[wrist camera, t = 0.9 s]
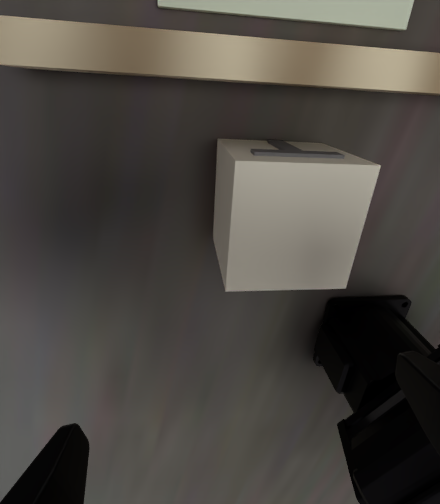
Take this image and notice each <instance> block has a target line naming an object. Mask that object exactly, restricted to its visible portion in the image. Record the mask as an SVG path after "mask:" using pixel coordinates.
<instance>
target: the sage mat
mask: <svg viewBox="0 0 440 504" xmlns="http://www.w3.org/2000/svg"><path fill="white" fill-rule="evenodd" d="M413 2H414V0H158V8H164V9H175V10H185V11H196V12H206V13H217V14H227V15H238V16H249V17H259V18H270V19H280V20H291V21H301V22H312V23H323V24H333V25H344V26H354V27H365V28H375V29H386V30H397V31H403V30H406V28H407V24H408V21H409V17H410V13H411V9H412V6H413Z"/></svg>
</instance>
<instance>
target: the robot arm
mask: <svg viewBox="0 0 440 504" xmlns="http://www.w3.org/2000/svg"><path fill="white" fill-rule="evenodd" d="M335 304H337V305H336V306H334V305H335ZM410 306H411V301H410V300H409V299H408V298H407V297H405V296H393V297H357V298H333V299H331V300H330V301H329V302H328V304H327V307H326V311H325V315H324V319H323V323H322V325H321V326H320V329H319V333H318V337H317V341H316V345H315V349H314V350H315V353H314V357H313V360H314V362H315V364H316V365H317V366H323V368H324V369H325V371H326V373H327V375H328V377H329V379H330V381H331V383H332V385H333V387H334V389H335V390H336V391H337V392H338V393H339V394H344V396H345V398H346V399H347V401H348V403H349V405H350V407H351V409H352V410H353V412H354V413H353V414H352V415H351V416H349V417H348V418H347V419H343V420H342V421H340V422H339V423H338V424H337V426H338V430H339V434H340V438H341V442H342V446H343V450H344V454H345V457H346V461H347V465H348V469H349V473H350V477H351V481H352V484H353V487H354V491H355V495H356V498H357V500H358V502H359V503H360V504H440V344H439V345H438V348H437V349H435V348H434V347H433V346H432V345H431V344H430V343H429V342H428V341H427V340H426V339H425V338H424V337H423V336H422V335H421V334H420V333H419V332H418V331H417V330H416V329H415V328H414V327H413V326H412V325H411V324H410V323H409V322H408V321H407V320H406V319H405V318H406V315H407V313H408V310H409V308H410ZM88 457H89V442H88V439H87V437H86V436H85V434H84V433H83V431H82V429H81V428H80V426H79V425H78V424H76V423H73V424H69V425H64V426H62V427H60V428H59V429H58V430H57V432H56V433H55V434H54V435H53V437H52V438H51V439H50V440H49V442H48V443H47V444H46V445H45V447H44V448H43V449H42V451H41V452H40V453H39V454H38V456H37V457H36V458H35V459H34V461H33V462H32V463H31V464H30V466H29V467H28V468H27V469H26V471H25V472H24V473H23V474H22V476H21V477H20V478H19V479H18V481H17V482H16V483H15V484H14V486H13V487H12V488H11V490H10V491H9V492H8V493H7V495H6V496H5V497H4V498H3V500H2V501H1V502H0V504H84V495H85V485H86V476H87V466H88Z"/></svg>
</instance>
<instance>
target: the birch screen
mask: <svg viewBox="0 0 440 504" xmlns="http://www.w3.org/2000/svg"><path fill="white" fill-rule="evenodd" d="M0 65H4V66H12V67H20V68H28V69H41V70H56V71H71V72H86V73H101V74H116V75H132V76H147V77H162V78H177V79H192V80H208V81H223V82H238V83H253V84H268V85H283V86H299V87H314V88H329V89H344V90H359V91H375V92H390V93H405V94H420V95H435V96H440V53H432V52H421V51H409V50H398V49H386V48H374V47H363V46H351V45H339V44H328V43H316V42H304V41H293V40H281V39H269V38H258V37H246V36H234V35H223V34H211V33H200V32H188V31H176V30H165V29H153V28H141V27H130V26H118V25H106V24H95V23H83V22H71V21H60V20H48V19H37V18H25V17H13V16H2V15H0Z"/></svg>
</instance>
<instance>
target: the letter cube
mask: <svg viewBox="0 0 440 504" xmlns="http://www.w3.org/2000/svg"><path fill="white" fill-rule="evenodd" d="M380 167H381V165H378V164H376V163H373V162H371V161H368V160H365V159H363V158H360V157H357V156H355V155H352V154H350V153H347V152H344V151H342V150H339V149H337V148H334V147H331V146H329V145H326V144H323V143H313V142H289V141H283V140H267V141H265V140H241V139H218V142H217V163H216V183H215V204H214V224H213V241H214V245H215V249H216V254H217V258H218V262H219V266H220V271H221V275H222V279H223V283H224V287H225V292H227V291H269V290H311V289H346V286H347V282H348V279H349V275H350V272H351V268H352V265H353V261H354V258H355V254H356V251H357V247H358V244H359V240H360V237H361V233H362V230H363V226H364V223H365V219H366V216H367V212H368V209H369V205H370V202H371V198H372V195H373V191H374V188H375V184H376V181H377V178H378V174H379V171H380Z"/></svg>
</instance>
